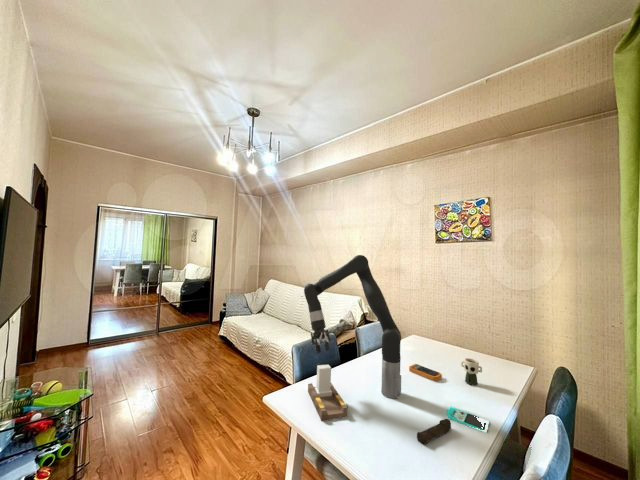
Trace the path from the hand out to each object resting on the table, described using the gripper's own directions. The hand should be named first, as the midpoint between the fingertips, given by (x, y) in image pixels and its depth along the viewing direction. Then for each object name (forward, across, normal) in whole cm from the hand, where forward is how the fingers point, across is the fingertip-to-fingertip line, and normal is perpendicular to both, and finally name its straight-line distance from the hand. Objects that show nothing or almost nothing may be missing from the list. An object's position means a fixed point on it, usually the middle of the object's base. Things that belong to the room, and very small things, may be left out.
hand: (323, 351), depth 136 cm
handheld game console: (+41, +23, -53) cm, 71 cm away
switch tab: (+18, -2, +4) cm, 19 cm away
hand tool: (+39, +3, -43) cm, 58 cm away
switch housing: (+22, -5, +1) cm, 23 cm away
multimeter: (+27, +57, -32) cm, 71 cm away
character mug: (+35, +62, -54) cm, 90 cm away
